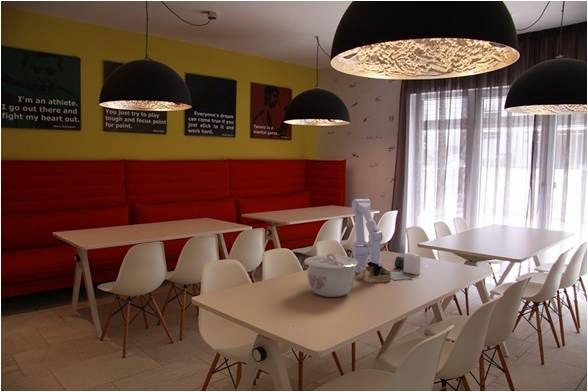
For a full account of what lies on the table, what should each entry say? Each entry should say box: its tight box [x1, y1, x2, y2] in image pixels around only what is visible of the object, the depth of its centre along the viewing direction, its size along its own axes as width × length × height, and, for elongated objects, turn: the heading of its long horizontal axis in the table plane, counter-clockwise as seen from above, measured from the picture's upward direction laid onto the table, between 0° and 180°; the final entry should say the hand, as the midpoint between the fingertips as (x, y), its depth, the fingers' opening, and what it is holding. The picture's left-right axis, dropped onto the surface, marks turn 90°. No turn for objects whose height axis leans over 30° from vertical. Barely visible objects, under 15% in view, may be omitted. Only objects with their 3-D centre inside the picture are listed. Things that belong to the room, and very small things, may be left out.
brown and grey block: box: [366, 266, 384, 276], centre depth 262 cm, size 4×9×7 cm, turn 108°
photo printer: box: [403, 252, 421, 276], centre depth 276 cm, size 10×4×12 cm, turn 39°
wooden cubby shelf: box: [358, 266, 392, 284], centre depth 262 cm, size 13×13×6 cm
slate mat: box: [390, 271, 412, 281], centre depth 268 cm, size 14×11×1 cm
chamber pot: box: [303, 252, 358, 298], centre depth 234 cm, size 28×28×21 cm
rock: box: [394, 252, 406, 270], centre depth 291 cm, size 18×11×8 cm, turn 149°
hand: (374, 275), depth 262 cm, fingers closed on brown and grey block, 4 cm apart
